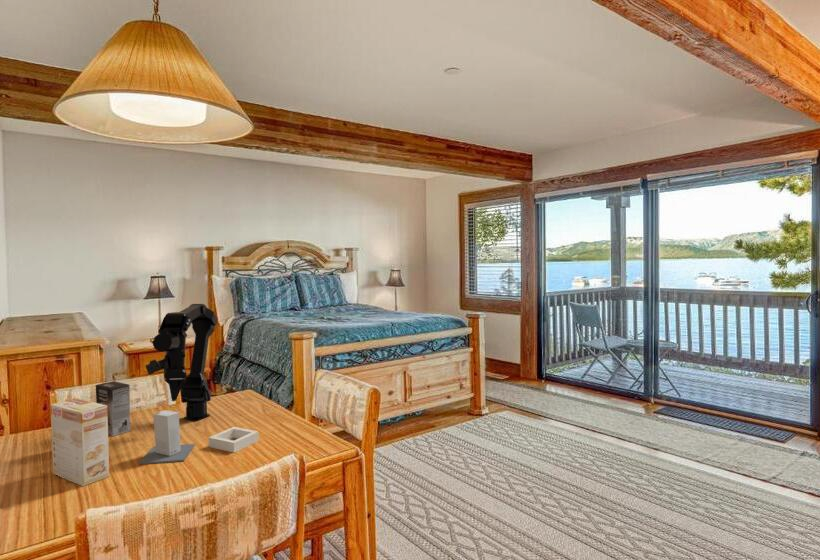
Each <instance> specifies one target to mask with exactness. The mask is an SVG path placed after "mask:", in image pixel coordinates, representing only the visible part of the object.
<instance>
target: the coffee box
mask: <svg viewBox="0 0 820 560" xmlns="http://www.w3.org/2000/svg"><path fill="white" fill-rule="evenodd" d="M130 391H131V389H130V384H128V383H123V382H119V381H115V380H114V381H108V382H102V383H98V384H96V385H95V401H96V402H95V403H98V404H103V405H107V415H108V436H110V437H116V436H118V435H122V434H124V433H127V432H131V400H130V399H131V393H130Z"/></svg>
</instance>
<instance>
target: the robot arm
mask: <svg viewBox="0 0 820 560" xmlns="http://www.w3.org/2000/svg"><path fill="white" fill-rule="evenodd" d="M217 324H218V317H217V315H216V313H215V312H214V310H212V309H210V308H208V307H207V306H206V304H204V303H192V304H190V305H189V306H187V307H186V308H184V309H182V310H180V311H176V312H174V311H173V312H167V313H166V314H165V315H164V317H163V319H162V322H161V325H160V326H159V330H158V334H156V336H155V337H154V338H153V340H152V346H153V348H154V350H156V351H157V352H162V353H163V352H164V353H165V354H164V358H163V359H160V360H156V359H152V360H149V363H148V364H145V369H146V372H147V374H148V376H149V375H150V376H151V375H152V374H155V373H156V372H157V373H158V372H159V371H162V370H163V379H164V381H165V383H167V384H168V386H169V387H168V388H169V392H170V399H171V402H176V401H177V399H178V397H179V394H180V398H181V401H182V403H183V404H184V403H186V407H185V416H184V417H183V419H185V420H189V421H190V420H191V421H194V422H198V421H199V420H200V421H201V420H203V419H206V418H208V417H210V416H211V414H210V413H208V402H210V401H211V400H212V399H211V397H212V392H211V390H210V389H209V387H208V381H207V379H206V377H205V369H206V368H205V367H206V359H207V354H208V347H209V346H208V345H209V339H210V337H211V335H213V333H215V330H216V326H217ZM191 325H192V326H191ZM190 327H191V328H192V330H193V332H194V335H195V337H194V343H193V344H194V345H193V350H192V358H191V362H190V369H189V370H190V371H189V373H188V375H187V371H186V367H185V363H186V360H185V359H186V342H187V341H186V339H187V337H188V334H187V331H188V330H189V328H190Z"/></svg>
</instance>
